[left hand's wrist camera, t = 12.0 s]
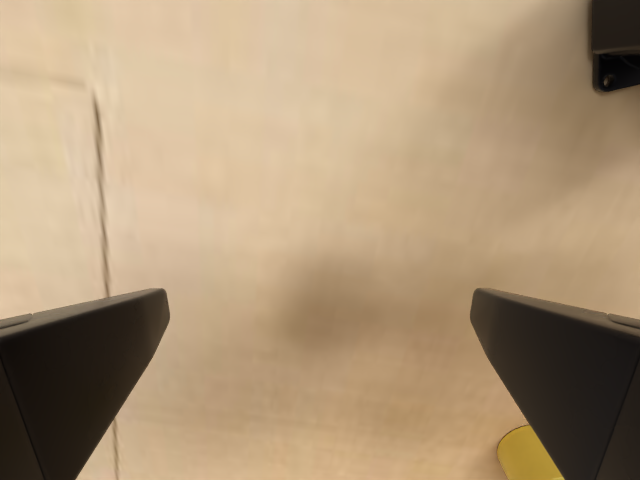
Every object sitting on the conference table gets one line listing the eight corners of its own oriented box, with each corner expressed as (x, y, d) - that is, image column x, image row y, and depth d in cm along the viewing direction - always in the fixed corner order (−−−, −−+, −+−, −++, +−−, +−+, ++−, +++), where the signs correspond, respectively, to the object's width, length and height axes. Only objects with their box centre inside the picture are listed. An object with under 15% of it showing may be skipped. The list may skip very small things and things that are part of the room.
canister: (483, 455, 29) (507, 510, 25) (528, 414, 27) (561, 466, 24) (529, 479, 30) (559, 535, 26) (574, 441, 28) (613, 495, 25)
